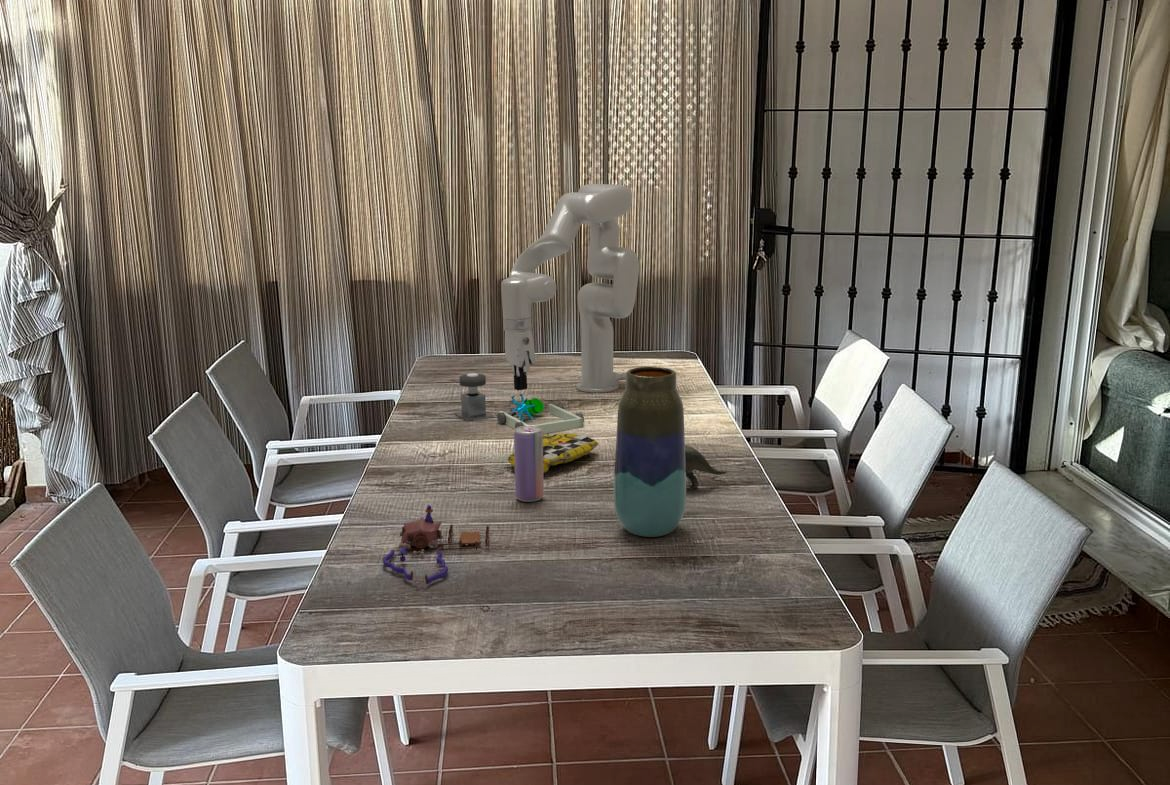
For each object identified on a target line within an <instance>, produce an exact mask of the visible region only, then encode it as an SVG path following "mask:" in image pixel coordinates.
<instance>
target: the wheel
mask: <svg viewBox="0 0 1170 785" xmlns="http://www.w3.org/2000/svg"><path fill="white" fill-rule="evenodd" d="M486 380H487V379H486V375H485V374H481V373H476V372H475V373H474V372H471V373H466V374H461V375H460V376H459V386H462V387H466V388H468V393H469V394H476V393H478V392H479V391H478V387H482V386H485V385H486V384H487V382H486Z"/></svg>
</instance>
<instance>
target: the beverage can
mask: <svg viewBox="0 0 1170 785" xmlns="http://www.w3.org/2000/svg"><path fill="white" fill-rule="evenodd" d="M543 435H544V434H543V433H542V429H541V428H540V427H538V426H520V427H517V428H516V429H514V434H513V451H514V452H513V453H514V459H515V469H514V470H515V473H514V491H515V492H514V493H515V497H516V498H517V500H519V501H520V502H523V503H524V502H525V503H532V502H533V503H534V502H537V501H541V500H542V499H543V497H544V495H545V494H544V492H545V490H544V486H545V485H544V473H543Z"/></svg>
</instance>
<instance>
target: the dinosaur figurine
mask: <svg viewBox="0 0 1170 785" xmlns="http://www.w3.org/2000/svg"><path fill="white" fill-rule="evenodd" d="M685 461H686V479H688V480H690V483H691V485H690V486H689V488H688V489H689V490H694V489H696V488H698V486H699V482H698V478H697V477H696V476H695V474H694V473H693V472H694V471H699V472H704V473H708V474H711V475H716V476H717V475H725V474H727V473H728V471H726V470H725V471H724V470H718V469H716V468H714V467H712V466H711V465H710V464H709V462H708V460H707V459H706V458H705V457H704V456H703V455H702V454H701V453H700V452H699V451H698V450H697V449H695V448H694V447H693V446H690V445H687V444H685Z"/></svg>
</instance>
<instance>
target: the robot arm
mask: <svg viewBox="0 0 1170 785" xmlns="http://www.w3.org/2000/svg"><path fill="white" fill-rule="evenodd" d="M632 203H633V197H632V192H631V191H630V189H629V188H628V187H627V186H625V185H622V184H611V183H610V184H609V183H608V184H607V183H588V184H585V185H584V184H583V185H582V186H581V187H580V188H579V189H578V191H577V192H567V193H564V194H563V195H561V197H560V198H559V200H558V201H557V203H556V206H555V207H554V210H553V212H552V215H551V216H550V218H549V221H548V223H547V225H546V227H545V229H544V232H543V233H542V235H541V236H540V237H539V238H538V239H537V240H535V241H534V242H532V243H531V244H530V245H529V246H528V247H527V248H526V249H525V250H523V252H521V254H519V256H518V257H517V259H516V260H515V262H514V264H513V266H512V268H511V271H510V272H509V275H508V277H507V278H504V279H503V280H502V281H501V284H500V287H501V288H500V290H501V303H502V304H501V306H502V307H501V308H502V323H503V325H502V326H503V331H504V356H505V360H506V362H508V363H509V365H510V366H511V369H512V374H513V387H514V388H513V389H514V390H516V391H524V390H527V389H528V379H527V376H528V372H530V371H531V366H534V365H535V364H536V351H535V344H534V342H535V341H534V336H533V332H532V315H531V314H532V313H531V304H532V303H544V302H547V301H550V300H551V299H552V298H554V296H555V294H556V293H557V283H556V281H555V279H554V278H553V277H552V276H550V275H548V274H544V273H538V272H537V273H535V271H536V270H537V269H538V268H539V267H540V266H541V265H542V264H544V263H545V262H547V261H549V260H552V259H554V258H557V257H559V256H562V255H564V254H565V253H567V252H569V251H570V249H571V247H572V245H573V243H574V241H575V238H576V236H577V234H578V232H579V230H580V228H581V226H582V225H583V224H585V225H586V224H587V225H590V236H589V247H588V254H587V262H586V263H587V264H586V265H587V266H586V268H587V272H588V274H589V275H590V276H592V277H594V278H597V279H605V280H612V281H613V284H611V283H604V282H590V283H586V284H584V285H583V286H581V288H580V289H579V291H578V294H577V306H578V310H579V312H578V313H579V316H580V317H579V318H580V325H581V326H580V327H581V328H580V330H581V334H580V336H581V337H580V338H581V341H580V342H581V344H580V345H581V346H580V347H581V348H580V349H581V352H580V353H581V355H580V357H581V358H580V359H581V381H580V382H577V383H576V385H575V386H576V389H577V390H579V391H581V392H584V393H595V394H596V393H597V394H598V393H610V392H613V391H617V390H618V389H619V383H618V382H619V381H620V380H621V381H623V380H625V381H626V372H624V373H619V372H616V371H614V327H613V324H612V321H611V318H613V319H626V318H627V317H629V316H630V315H631V314H632V313H633V310H634V307H635V304H636V303H635V302H636V297H637V288H638V281H639V273H640V262H639V258H638V255H637V254H636V252H635V251H634V250H633V249H631V248H628V247H624V246H623V247H621V246H619V245H620V233H621V230H620V224H619V222H618V220H617V218H620V217H622V216H624V215H626V213H628V212H629V211H630V208H631V207H632Z"/></svg>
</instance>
